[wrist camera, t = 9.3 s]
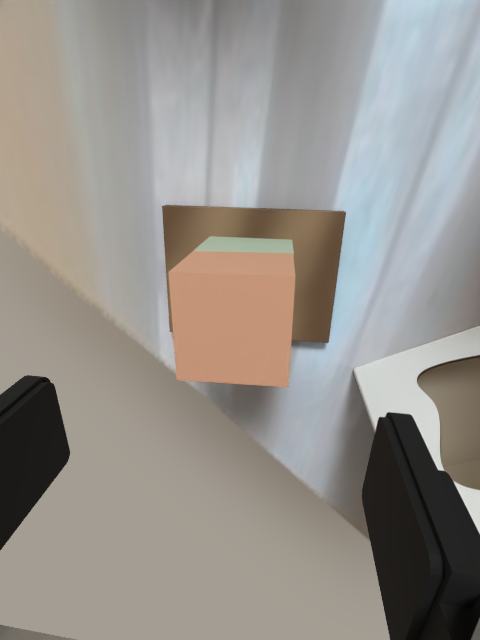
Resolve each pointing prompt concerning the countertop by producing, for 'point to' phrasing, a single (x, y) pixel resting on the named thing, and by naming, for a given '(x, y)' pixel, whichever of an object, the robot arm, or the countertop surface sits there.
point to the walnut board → (297, 225)
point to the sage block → (246, 245)
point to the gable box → (435, 403)
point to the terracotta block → (233, 317)
